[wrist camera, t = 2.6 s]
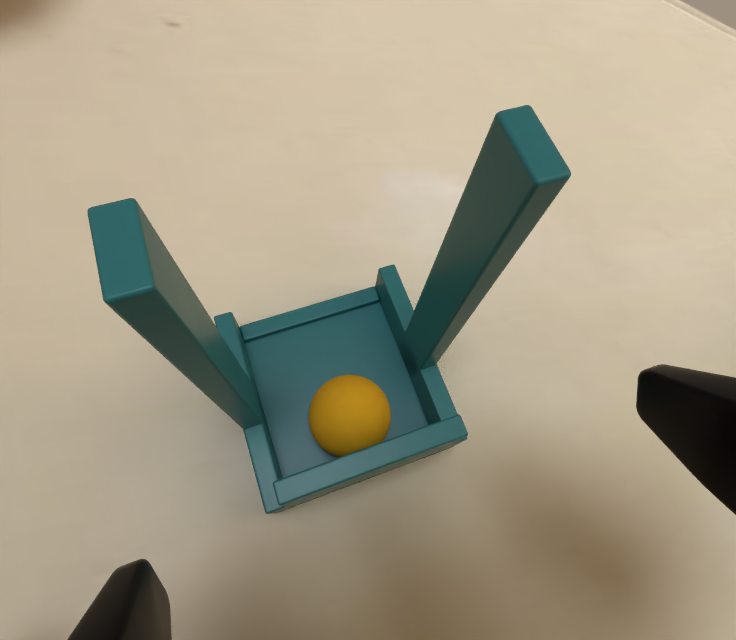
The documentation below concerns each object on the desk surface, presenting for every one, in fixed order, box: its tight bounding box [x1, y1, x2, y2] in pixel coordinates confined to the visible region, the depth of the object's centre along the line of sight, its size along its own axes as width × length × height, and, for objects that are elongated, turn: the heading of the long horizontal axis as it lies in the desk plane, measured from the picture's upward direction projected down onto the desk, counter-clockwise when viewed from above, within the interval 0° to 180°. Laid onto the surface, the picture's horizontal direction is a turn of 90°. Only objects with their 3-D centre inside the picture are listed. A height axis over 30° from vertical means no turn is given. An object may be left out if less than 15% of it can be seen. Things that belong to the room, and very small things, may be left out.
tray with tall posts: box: [88, 105, 571, 514], centre depth 14 cm, size 7×7×14 cm
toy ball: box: [308, 375, 391, 457], centre depth 17 cm, size 3×3×3 cm
